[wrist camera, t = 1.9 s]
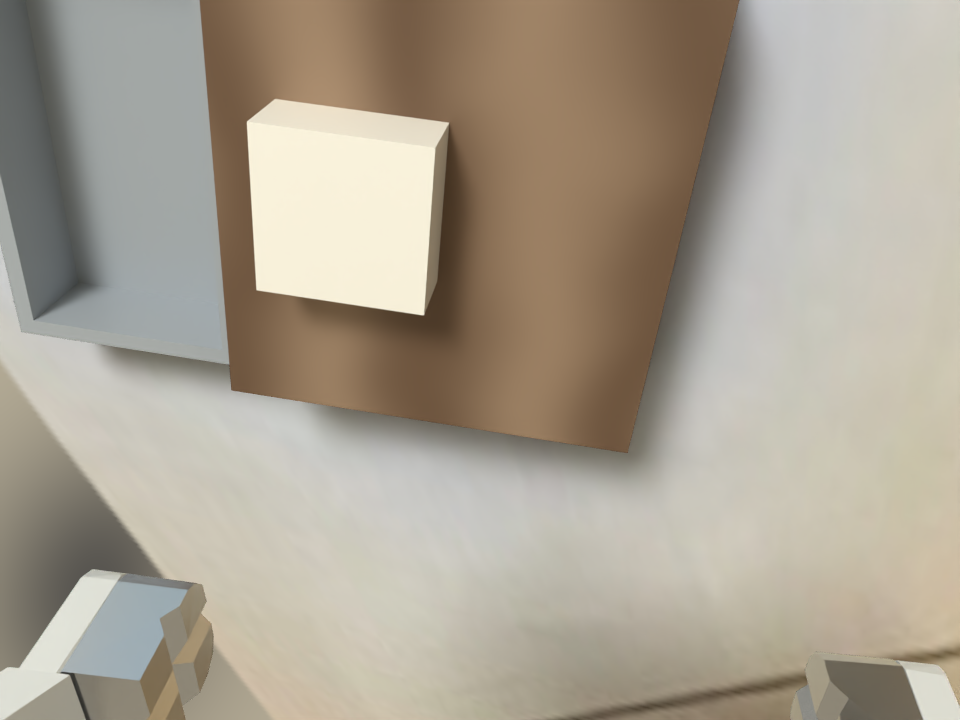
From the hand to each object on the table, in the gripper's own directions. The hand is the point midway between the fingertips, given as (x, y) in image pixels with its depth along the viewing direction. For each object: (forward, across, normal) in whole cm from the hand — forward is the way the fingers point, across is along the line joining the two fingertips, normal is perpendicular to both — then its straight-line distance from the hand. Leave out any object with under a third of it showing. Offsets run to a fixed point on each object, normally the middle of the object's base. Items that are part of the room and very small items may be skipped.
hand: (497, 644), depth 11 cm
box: (+21, -14, 0) cm, 25 cm away
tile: (+16, -6, 0) cm, 17 cm away
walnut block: (+21, -3, 0) cm, 21 cm away
